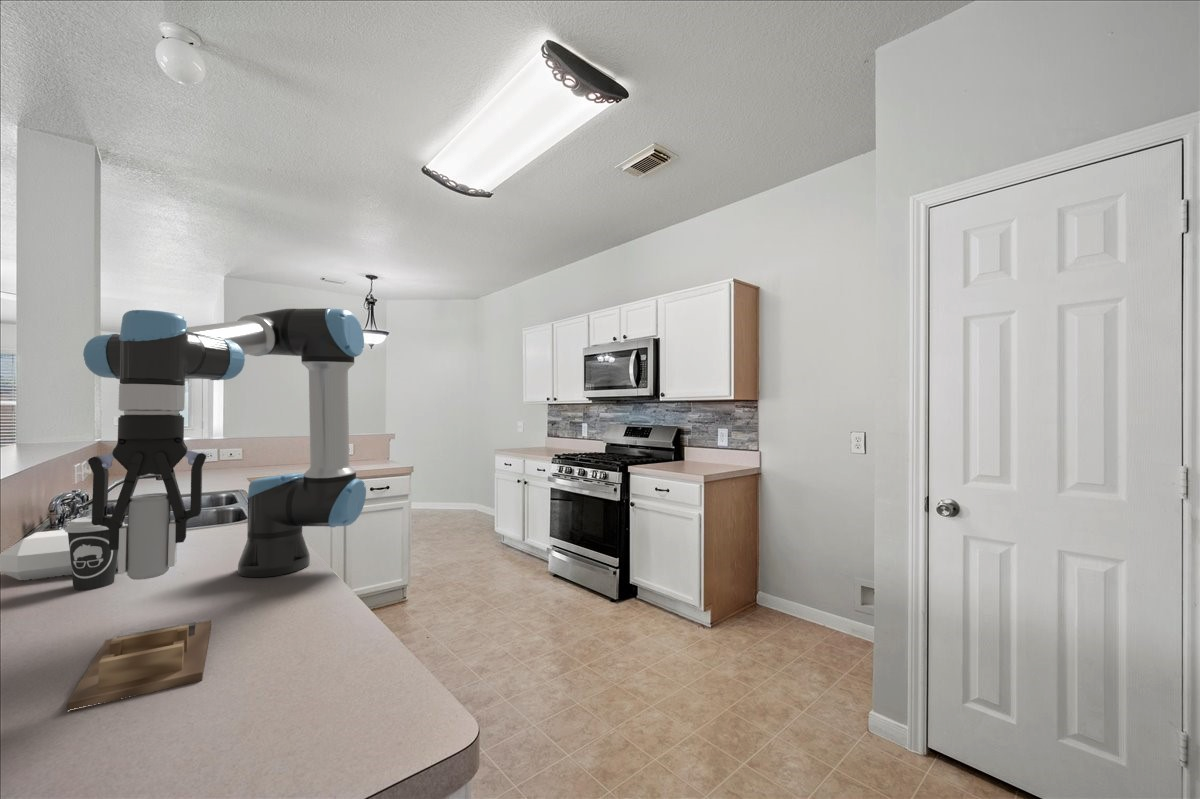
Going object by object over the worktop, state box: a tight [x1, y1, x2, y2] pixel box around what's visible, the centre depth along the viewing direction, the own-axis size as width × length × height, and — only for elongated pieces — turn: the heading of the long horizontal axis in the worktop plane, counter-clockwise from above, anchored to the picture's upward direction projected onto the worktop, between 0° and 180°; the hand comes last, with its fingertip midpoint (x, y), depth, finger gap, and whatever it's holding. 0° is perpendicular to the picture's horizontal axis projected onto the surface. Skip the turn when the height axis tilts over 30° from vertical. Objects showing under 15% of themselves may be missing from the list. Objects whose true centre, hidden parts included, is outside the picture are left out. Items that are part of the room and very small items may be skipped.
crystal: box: [0, 523, 128, 581], centre depth 126 cm, size 14×10×28 cm
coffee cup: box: [64, 514, 125, 591], centre depth 114 cm, size 10×10×15 cm
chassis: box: [66, 620, 212, 711], centre depth 80 cm, size 14×22×5 cm, turn 35°
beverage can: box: [126, 492, 172, 581], centre depth 77 cm, size 5×5×12 cm
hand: (148, 567), depth 76 cm, fingers closed on beverage can, 5 cm apart
